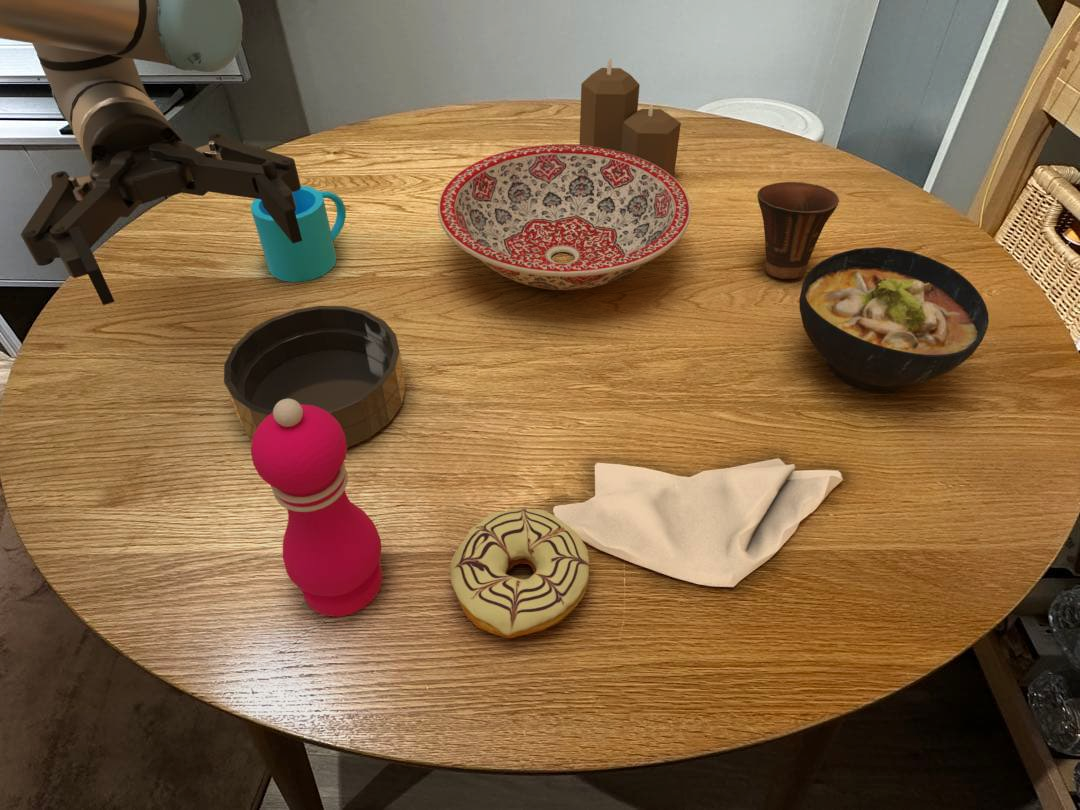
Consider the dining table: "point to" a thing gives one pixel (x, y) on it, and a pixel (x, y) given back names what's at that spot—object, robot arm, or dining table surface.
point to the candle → (626, 120)
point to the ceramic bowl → (564, 214)
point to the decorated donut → (509, 599)
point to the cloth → (698, 516)
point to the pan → (319, 369)
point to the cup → (793, 224)
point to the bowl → (890, 317)
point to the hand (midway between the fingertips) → (202, 255)
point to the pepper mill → (318, 509)
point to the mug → (317, 238)
